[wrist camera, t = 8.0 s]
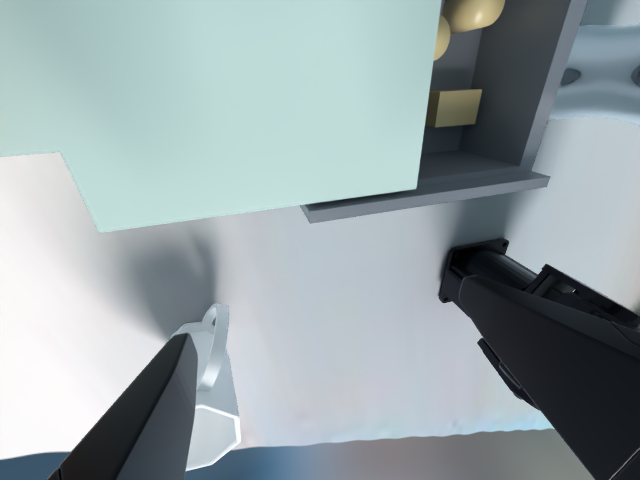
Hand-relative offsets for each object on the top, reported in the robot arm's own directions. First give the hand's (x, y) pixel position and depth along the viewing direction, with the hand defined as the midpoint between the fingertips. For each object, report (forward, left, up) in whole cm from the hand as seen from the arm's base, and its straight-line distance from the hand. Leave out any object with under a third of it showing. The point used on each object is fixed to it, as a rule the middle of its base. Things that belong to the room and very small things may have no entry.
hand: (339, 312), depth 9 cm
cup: (+8, +11, -13) cm, 18 cm away
